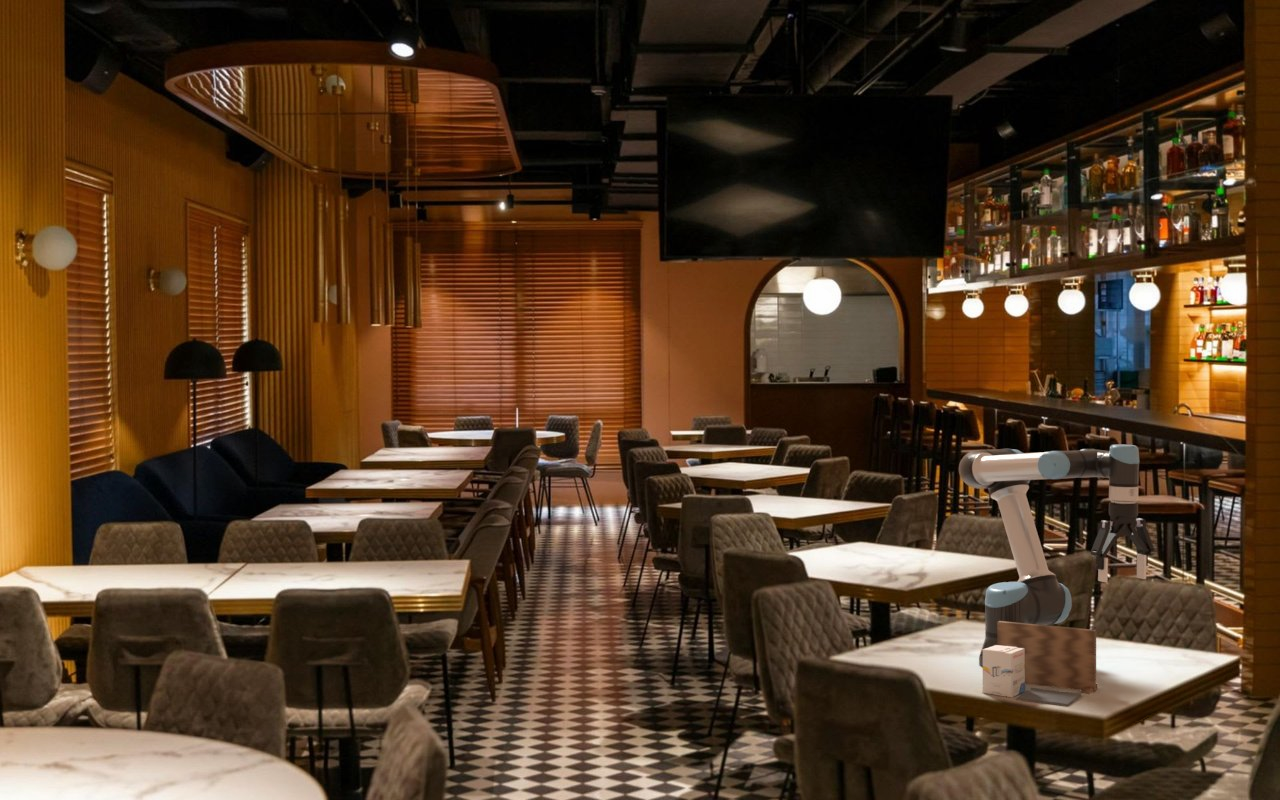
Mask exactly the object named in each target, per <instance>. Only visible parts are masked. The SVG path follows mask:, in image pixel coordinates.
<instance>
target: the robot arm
mask: <svg viewBox="0 0 1280 800" xmlns="http://www.w3.org/2000/svg"><path fill="white" fill-rule="evenodd" d="M1139 453H1140V450H1139V447H1138V446H1137V445H1133V444H1122V443H1121V444H1111V445H1110V446H1109V450H1102V449H1095V448H1082V449H1080V450H1078V449H1077V450H1050V451H1044V452H1040V451H1039V452H1025V453H1024V452H1022V451H1020V450H1019V449H1014V448H1013V449H1012V448H1000V449H976V450H971V451H970V452H968V453H966V454H965V455H964V456H963V457H962V459H960V460H959V461H960V462H959V464H958V474H959V477H960V479H961V480H962V482H963V483H965V485H967V486H969V487H970V488H974V489H978V490H979V489H980V490H981V489H984V490H985V489H986V490H988V493H989V497H990V499H992V500H995V501H996V502H997V505H998V509H999V512H1000V515H1001V519H1002V522H1003V525H1004V529H1005V532H1006V535H1007V536H1006V537H1007V538H1008V543H1009V546H1010V549H1011V553H1012V556H1013V560H1014V562H1015V566H1016V571H1017V573H1018V577H1019V578H1018V580H1017V581H1008V582H1007V581H1003V582H997V583H993V584H991V585H989V586H988V587H987V588H986V590H985V599H984V611H985V612H984V613H985V617H984V618H985V624H984V626H985V627H984V628H985V629H984V630H985V632H984V633H985V637H984V641H983V644H982V647H981V649H980V653H979V657H978V664H979V666H980V667H983V649H985V648H989V647H992V646H995V645H997V622H998V621H1006V622H1016V623H1027V624H1038V625H1048V626H1054V625H1055V624H1056V625H1057V624H1060V623H1062V622H1064V621H1066V619H1067V618H1068V616H1069V615H1070V612H1071V609H1072V605H1073V604H1072V603H1073V601H1072V595H1071V592H1070V589H1069V588H1068V587H1067V586H1066V585H1065V584H1062V583H1060V582H1058V578H1057V575H1056V574H1055V573H1054V572H1052V571H1050V570H1049V567H1048V565H1047V564H1048V563H1047V560H1046V558H1045V553H1044V551H1043V550H1044V549H1043V547H1042V544H1041V540H1040V537H1039V535H1038V531H1037V528H1036V524H1035V521H1034V517H1033V514H1032V509H1031V507H1030V504H1029V501H1028V497H1027V492H1028V490H1029V489H1030V485H1029V484H1030V482H1031V481H1035V480H1036V481H1037V480H1061V479H1076V478H1077V479H1079V478H1081V479H1082V478H1106V479H1109V481H1108V482H1109V483H1108V485H1109V486H1108V487H1109V488H1108V500H1109V501H1110V502H1108V515H1109V517H1110V520H1103V519H1102V520H1101V521H1100V524H1099V529H1098V532H1097V535H1096V537H1095V540H1094V542H1093V545H1092V548H1091V550H1090V555H1091V556H1094V557H1096V569H1097V570H1098V573H1097V574H1098V575H1097V576H1098V577H1097V581H1098V582H1101V583H1108V578H1109V577H1108V574H1109V573H1108V572H1109V571H1108V570H1109V558H1108V557H1106V556H1107V555H1108V554H1109V552H1110V550H1111V549H1112V547H1113V545H1114V544H1115V543H1116V541H1117V540H1118V539H1120V538H1122V537H1129V539H1130V541H1131V542H1132V543H1133V544H1134V546H1135V548H1136V549H1137V551H1138V553H1137V554H1136V579H1142V580H1146V579H1147V567H1148V560H1149V559H1148V558H1149V557H1148V556H1151V554H1152V553H1153V552H1155V547H1154V545H1153V542H1152V539H1151V536H1150V534H1149V531H1148V529H1147V522H1146V519H1145V518H1140V517H1138V516H1139V504H1138V503H1137V502H1138V501H1139V480H1140V479H1139V473H1140V454H1139Z"/></svg>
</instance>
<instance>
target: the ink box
mask: <svg viewBox="0 0 1280 800" xmlns="http://www.w3.org/2000/svg"><path fill="white" fill-rule="evenodd" d="M1024 692H1026V684H1025V649H1024V648H1018V647H1012V646H1001V645H995V646H992V647H989V648H985V649H983V666H982V693H983V694H989V695H994V696H1002V697H1006V696H1007V697H1006V698H1014V697H1016V696H1018V695H1021V694H1023V693H1024Z"/></svg>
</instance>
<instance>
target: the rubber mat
mask: <svg viewBox="0 0 1280 800" xmlns="http://www.w3.org/2000/svg"><path fill="white" fill-rule="evenodd" d="M1082 696H1083V694H1082V693H1078V692H1070V691H1061V690H1054V689H1047V688H1046V689H1045V688H1037V687H1031V688H1029V689H1028V690H1025V691H1024V692H1022V693H1020V694H1019V696H1018V695H1017V697H1016V701H1023V702H1031V703H1039V704H1046V705H1047V704H1048V705H1055V706H1063V707H1069V706H1070V705H1072V704H1073V703H1074V702H1075V701H1077V700H1078V699H1080V698H1081V697H1082Z"/></svg>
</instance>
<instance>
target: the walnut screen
mask: <svg viewBox="0 0 1280 800" xmlns="http://www.w3.org/2000/svg"><path fill="white" fill-rule="evenodd" d="M997 645H1001V646H1012V647H1018V648H1024V649H1025V685H1036V686H1043V687H1051V688H1061V689H1069V690H1077V691H1080V692H1081V694H1082V693H1084V694H1092V693H1093V692H1096V691H1097V689H1099V688H1098V683H1097V629H1092V628H1091V629H1089V628H1080V627H1068V626H1067V627H1066V626H1059V625H1058V626H1057V625H1038V624H1027V623H1016V622H1006V621H998V622H997Z"/></svg>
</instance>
